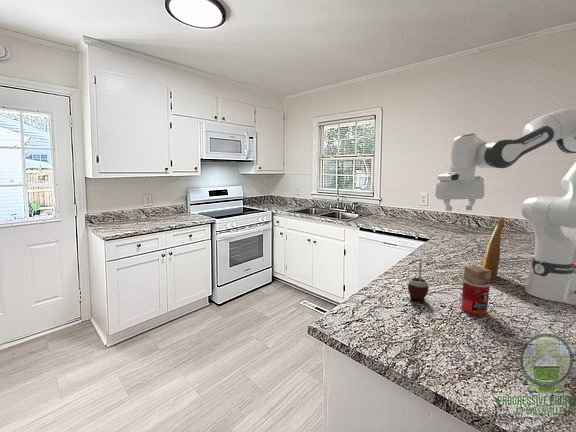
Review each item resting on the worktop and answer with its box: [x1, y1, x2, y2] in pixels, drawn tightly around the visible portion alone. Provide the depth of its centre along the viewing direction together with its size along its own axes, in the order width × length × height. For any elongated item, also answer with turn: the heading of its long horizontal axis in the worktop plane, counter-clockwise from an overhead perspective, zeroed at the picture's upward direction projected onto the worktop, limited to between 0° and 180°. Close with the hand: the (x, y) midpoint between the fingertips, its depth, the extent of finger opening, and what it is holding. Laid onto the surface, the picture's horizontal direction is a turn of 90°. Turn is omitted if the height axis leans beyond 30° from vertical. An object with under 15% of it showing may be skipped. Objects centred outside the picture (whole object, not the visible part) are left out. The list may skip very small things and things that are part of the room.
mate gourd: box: [407, 258, 429, 305], centre depth 113 cm, size 8×8×15 cm
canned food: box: [460, 278, 491, 317], centre depth 104 cm, size 8×8×11 cm
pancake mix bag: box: [480, 216, 505, 282], centre depth 136 cm, size 7×19×28 cm, turn 133°
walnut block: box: [463, 265, 491, 284], centre depth 103 cm, size 6×6×4 cm
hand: (458, 210), depth 121 cm, fingers open, 8 cm apart
